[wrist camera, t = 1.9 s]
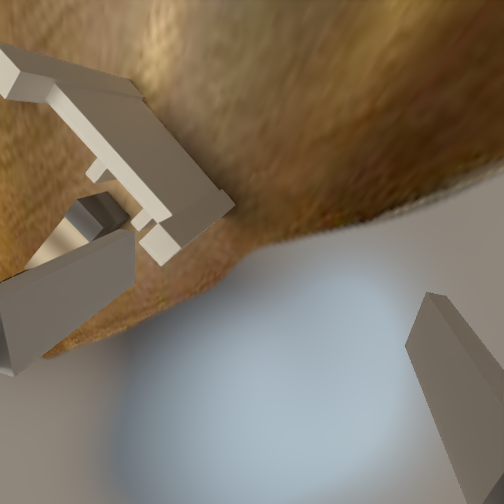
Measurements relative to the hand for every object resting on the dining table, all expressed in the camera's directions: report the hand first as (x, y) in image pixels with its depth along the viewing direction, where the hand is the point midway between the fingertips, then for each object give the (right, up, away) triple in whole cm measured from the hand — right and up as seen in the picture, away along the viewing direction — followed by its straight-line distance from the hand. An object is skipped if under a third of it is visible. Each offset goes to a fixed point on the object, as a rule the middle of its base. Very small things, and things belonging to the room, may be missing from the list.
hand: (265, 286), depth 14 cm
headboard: (-12, +11, +22) cm, 28 cm away
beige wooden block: (-23, +4, +28) cm, 36 cm away
